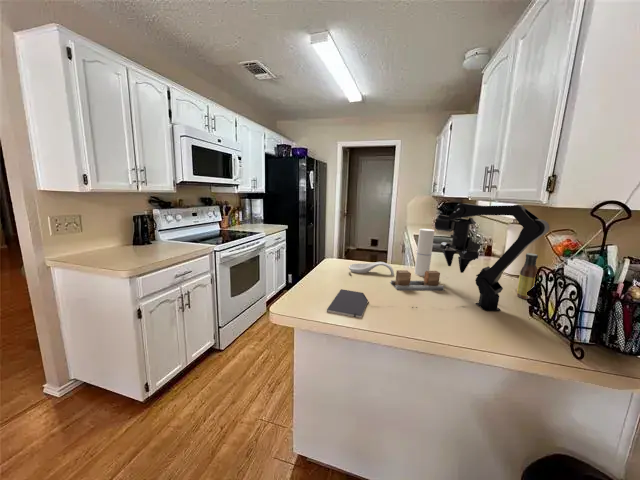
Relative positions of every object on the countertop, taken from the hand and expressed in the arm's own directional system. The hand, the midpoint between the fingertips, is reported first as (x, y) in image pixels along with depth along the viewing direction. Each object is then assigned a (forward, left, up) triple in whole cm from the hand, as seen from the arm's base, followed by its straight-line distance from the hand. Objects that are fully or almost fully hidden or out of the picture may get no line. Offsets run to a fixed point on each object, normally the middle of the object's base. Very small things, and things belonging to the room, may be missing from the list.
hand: (455, 269), depth 119 cm
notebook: (-8, +47, -13) cm, 49 cm away
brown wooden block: (+7, +6, -10) cm, 14 cm away
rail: (+7, +13, -12) cm, 19 cm away
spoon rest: (+28, +28, -12) cm, 42 cm away
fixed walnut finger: (+7, +20, -10) cm, 24 cm away
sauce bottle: (-2, -33, -12) cm, 35 cm away
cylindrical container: (+25, +2, -12) cm, 28 cm away
